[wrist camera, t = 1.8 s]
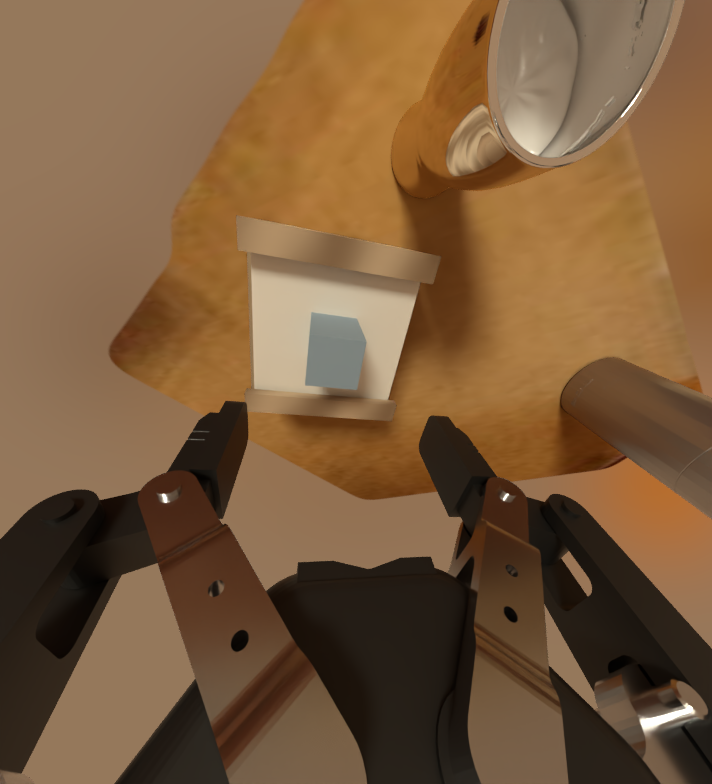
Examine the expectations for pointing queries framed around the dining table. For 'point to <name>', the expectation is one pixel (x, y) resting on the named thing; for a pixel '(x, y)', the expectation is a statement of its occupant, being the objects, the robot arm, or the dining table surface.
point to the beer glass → (529, 90)
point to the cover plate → (329, 296)
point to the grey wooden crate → (335, 254)
